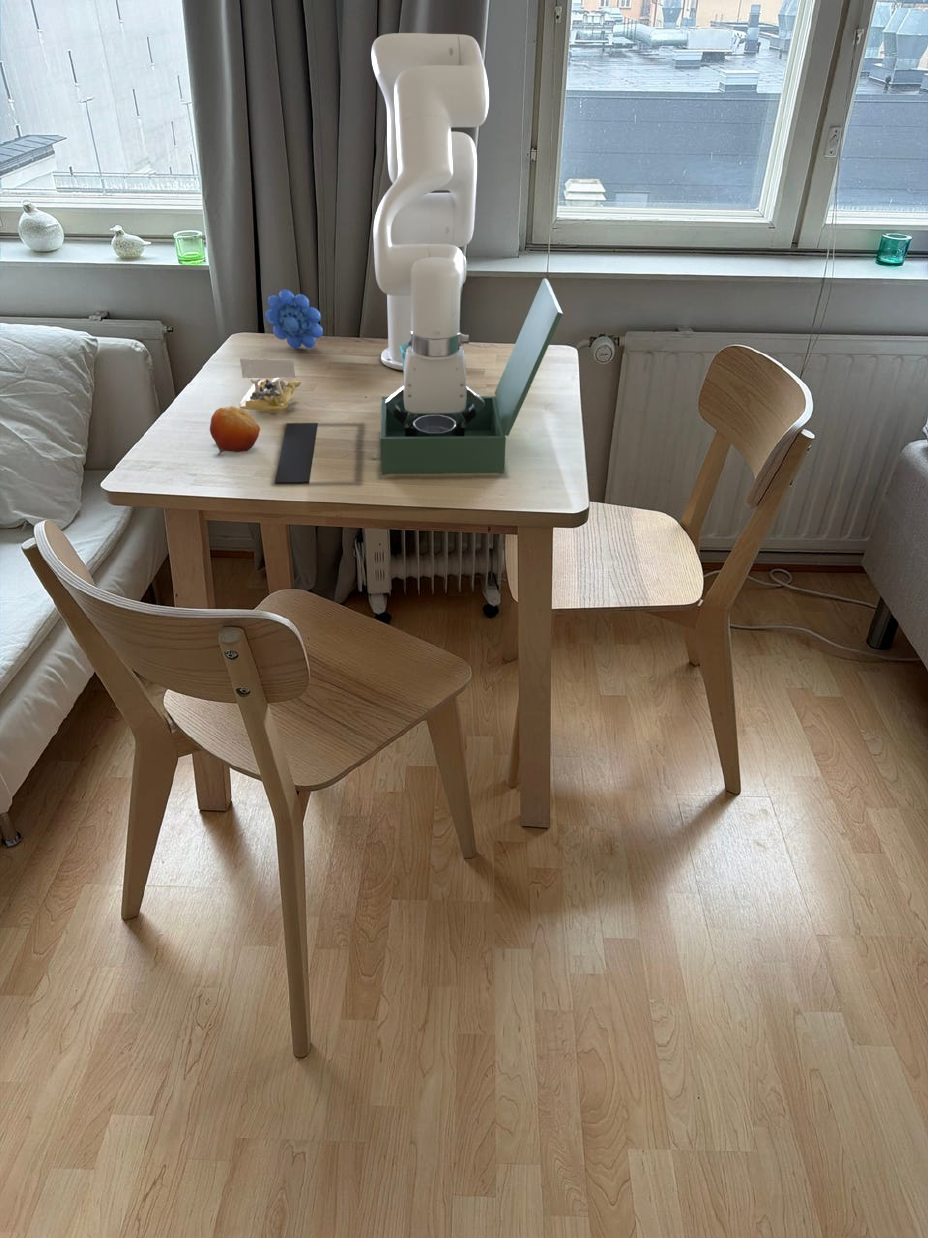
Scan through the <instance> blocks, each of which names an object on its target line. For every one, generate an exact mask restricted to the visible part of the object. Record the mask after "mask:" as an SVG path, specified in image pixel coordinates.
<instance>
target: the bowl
mask: <svg viewBox="0 0 928 1238" xmlns="http://www.w3.org/2000/svg"><path fill="white" fill-rule="evenodd" d="M413 426H414V437H444V436H456V421H455V420H453V419H452V418H450V417H447V416H443V415H426V416H422V417H419V418H417V419H416V420H415V421H414V422H413Z"/></svg>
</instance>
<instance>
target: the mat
mask: <svg viewBox="0 0 928 1238" xmlns="http://www.w3.org/2000/svg"><path fill="white" fill-rule="evenodd" d="M318 426H319V423H318V422H287V423H286V426H285V431H284V436H283V440H282V444H281V449H280V454H279V458H278V459H279V460H278V463H277V468H276V473H275V478H274V485H310V481H311V474H312V468H313V460H314V454H315V446H316V440H317V433H318Z"/></svg>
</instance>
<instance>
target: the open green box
mask: <svg viewBox="0 0 928 1238" xmlns="http://www.w3.org/2000/svg"><path fill="white" fill-rule="evenodd" d="M479 396H480V395H479ZM389 397H390V396H381V397H380V436H379V437H380V438H379V439H380V466H381V467H380V470H381V471H380V472H381V475H417V474H418V475H419V474H420V475H421V474H422V475H425V474H426V475H428V474H429V475H431V474H433V475H436V474H504V473H505V464H506V463H505V462H506V445H507V444H506V443H507V438H506V437H507V436H506V435H504V433H503V428H502V424H501V419H500V415H499V410H498V406H497V401H496V397H495V395H494V396H493V395H492V396H491V395H490V396H489V395H487V396H485V395H482V396H480V397H481V398H482V399H484V402H485V405H484V407H483V408H482V409H481V410H480V411H479V412H478V413H477V414H476V416H475V417H474V418H473V419H472V420H471V421H470V422H469V423H468V424H467V426H466V427H465V436H444V437H405V427H404V426H403V424H402V423H401V422H400V421H399V420H398V419H396V418H395V417H394V415H393V414H392V413H391V412H390V411H389V410H388V408H387V407H386V406H385V400H386V399H387V398H389ZM473 404H474V403H473V402H471V401H470V400H469V399H468V398H467V402H466V409H465V410H464V411H463V412H465V411H466V410H467V409H469V408H470V407H471V406H472V405H473ZM396 405H397V406H398V407H399V408H400V409H402V410H403V411H404V412H406V410H405V407H404V398H403V399H402V400H400V401H399V402H398V403H397V404H396ZM426 415H443V416H447V417H450V418H452V419H453V420H455V421H456V422H457V420H456V418H455V416H454V414H417V415H416V417H415V419H414V421H415V420H416V419H417V418H419V417H422V416H426ZM414 421H413V422H414Z"/></svg>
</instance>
